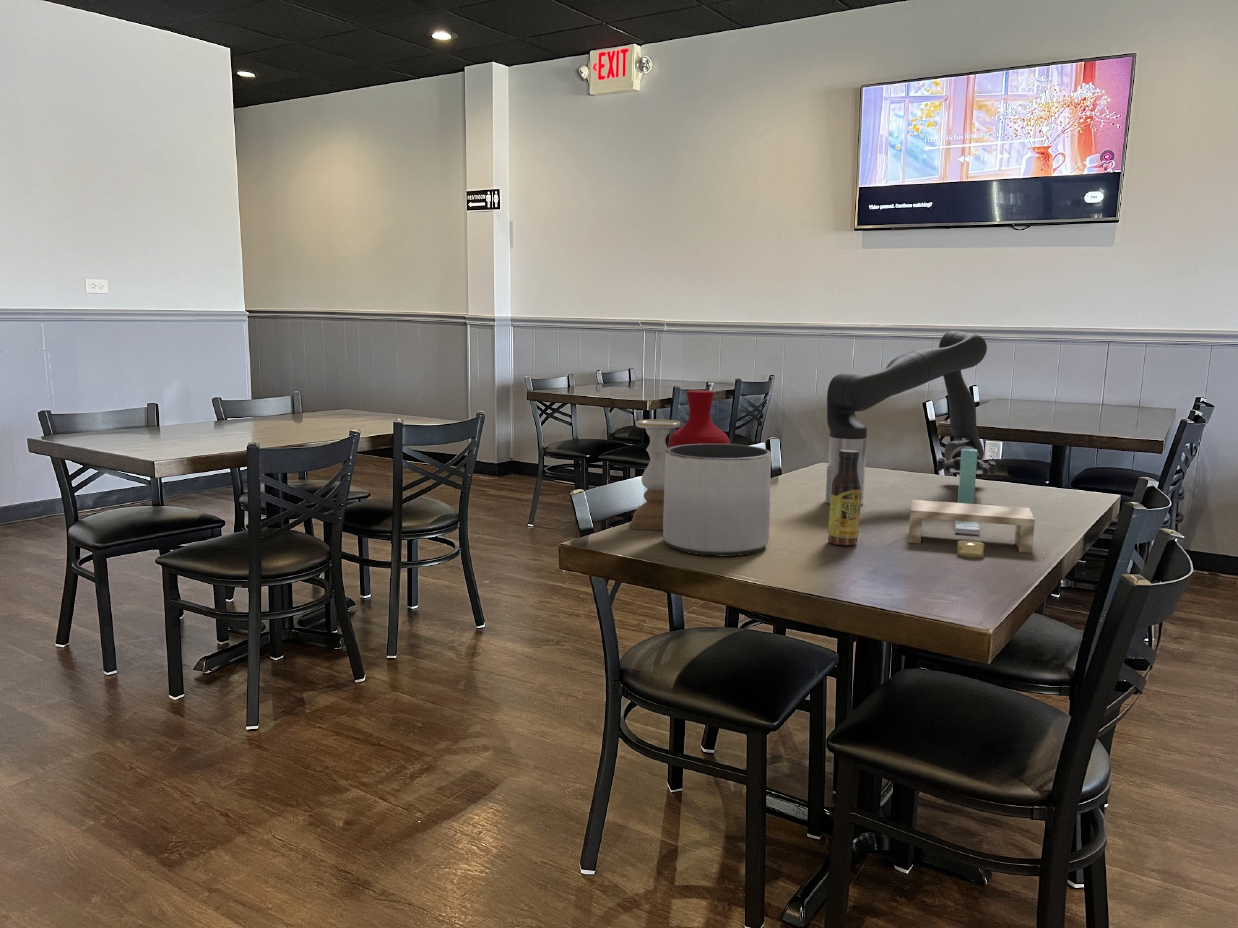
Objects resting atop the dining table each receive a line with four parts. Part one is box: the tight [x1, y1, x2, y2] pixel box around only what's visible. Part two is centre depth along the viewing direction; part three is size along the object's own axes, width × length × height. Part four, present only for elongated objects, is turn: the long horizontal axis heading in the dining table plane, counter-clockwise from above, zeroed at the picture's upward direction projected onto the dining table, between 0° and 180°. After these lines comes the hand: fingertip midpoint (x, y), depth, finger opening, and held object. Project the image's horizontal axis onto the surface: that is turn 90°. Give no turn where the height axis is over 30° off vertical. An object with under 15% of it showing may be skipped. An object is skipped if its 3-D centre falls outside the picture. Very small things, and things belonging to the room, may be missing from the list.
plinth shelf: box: [908, 499, 1036, 554], centre depth 188 cm, size 24×12×7 cm, turn 70°
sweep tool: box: [954, 449, 981, 536], centre depth 205 cm, size 5×24×16 cm, turn 160°
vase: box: [667, 389, 731, 448], centre depth 211 cm, size 15×15×30 cm
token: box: [956, 539, 985, 559], centre depth 178 cm, size 5×5×2 cm
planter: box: [662, 443, 772, 556], centre depth 183 cm, size 22×22×20 cm
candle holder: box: [631, 418, 682, 531], centre depth 200 cm, size 11×11×24 cm
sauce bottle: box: [827, 450, 862, 547], centre depth 185 cm, size 6×6×20 cm
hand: (966, 470), depth 224 cm, fingers open, 8 cm apart
